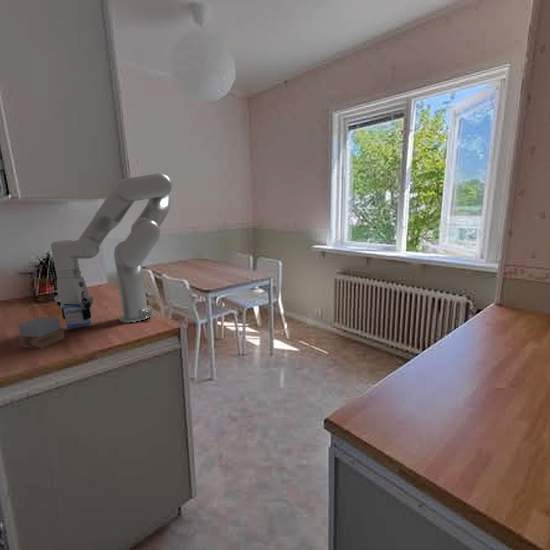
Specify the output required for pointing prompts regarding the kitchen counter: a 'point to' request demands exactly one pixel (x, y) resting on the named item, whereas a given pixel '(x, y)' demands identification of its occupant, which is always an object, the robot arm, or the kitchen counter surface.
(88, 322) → the medicine box
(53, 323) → the grey slab
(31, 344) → the walnut slab
